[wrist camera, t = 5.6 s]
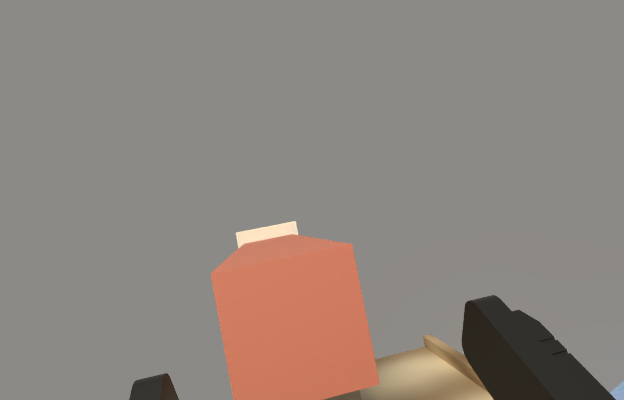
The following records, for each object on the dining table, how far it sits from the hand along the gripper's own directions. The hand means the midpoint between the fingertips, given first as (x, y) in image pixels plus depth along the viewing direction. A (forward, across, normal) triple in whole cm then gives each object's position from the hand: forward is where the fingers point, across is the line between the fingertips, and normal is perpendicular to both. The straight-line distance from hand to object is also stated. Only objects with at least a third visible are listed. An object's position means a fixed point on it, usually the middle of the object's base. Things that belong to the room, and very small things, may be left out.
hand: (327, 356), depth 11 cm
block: (+8, -1, -5) cm, 10 cm away
